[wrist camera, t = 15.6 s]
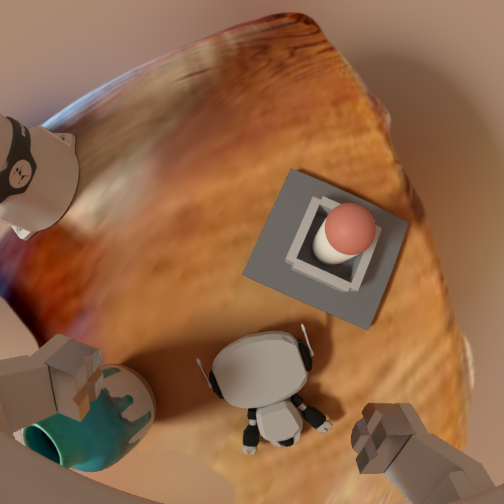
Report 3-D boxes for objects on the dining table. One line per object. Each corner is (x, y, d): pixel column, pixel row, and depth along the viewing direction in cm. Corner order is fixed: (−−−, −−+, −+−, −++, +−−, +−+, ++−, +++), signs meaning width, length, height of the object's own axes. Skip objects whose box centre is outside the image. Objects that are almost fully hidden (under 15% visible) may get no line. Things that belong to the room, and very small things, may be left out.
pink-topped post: (305, 256, 35) (320, 237, 23) (320, 222, 35) (340, 187, 23) (340, 272, 35) (371, 260, 22) (354, 237, 35) (389, 210, 23)
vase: (181, 389, 36) (107, 456, 17) (146, 442, 35) (74, 515, 16) (116, 340, 37) (13, 365, 18) (88, 396, 36) (-5, 438, 17)
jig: (243, 275, 37) (238, 272, 32) (290, 172, 38) (291, 157, 34) (364, 329, 35) (375, 333, 30) (404, 224, 36) (418, 216, 32)
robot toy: (333, 419, 34) (298, 314, 36) (341, 435, 30) (302, 319, 31) (243, 446, 35) (201, 346, 36) (240, 464, 30) (192, 356, 32)
